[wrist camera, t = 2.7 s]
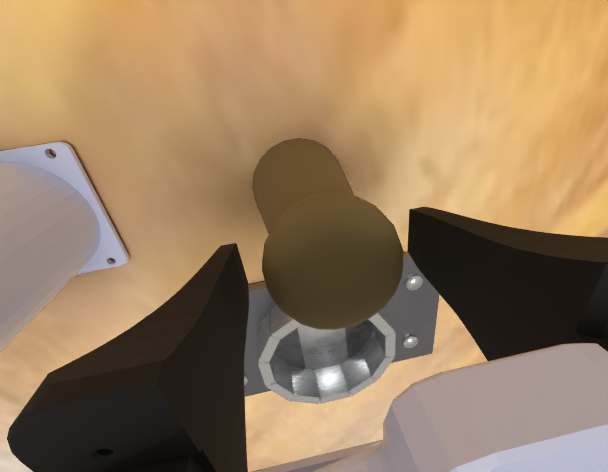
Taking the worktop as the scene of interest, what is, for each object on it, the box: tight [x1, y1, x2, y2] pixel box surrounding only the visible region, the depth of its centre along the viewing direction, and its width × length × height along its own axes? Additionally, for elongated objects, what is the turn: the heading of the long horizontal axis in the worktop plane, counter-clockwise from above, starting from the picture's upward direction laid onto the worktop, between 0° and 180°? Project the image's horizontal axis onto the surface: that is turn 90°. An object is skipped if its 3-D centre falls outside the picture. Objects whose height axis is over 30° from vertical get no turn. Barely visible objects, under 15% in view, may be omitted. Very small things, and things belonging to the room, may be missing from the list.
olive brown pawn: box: [253, 138, 404, 330], centre depth 14 cm, size 6×6×11 cm
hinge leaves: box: [244, 252, 439, 404], centre depth 24 cm, size 21×12×4 cm, turn 98°
